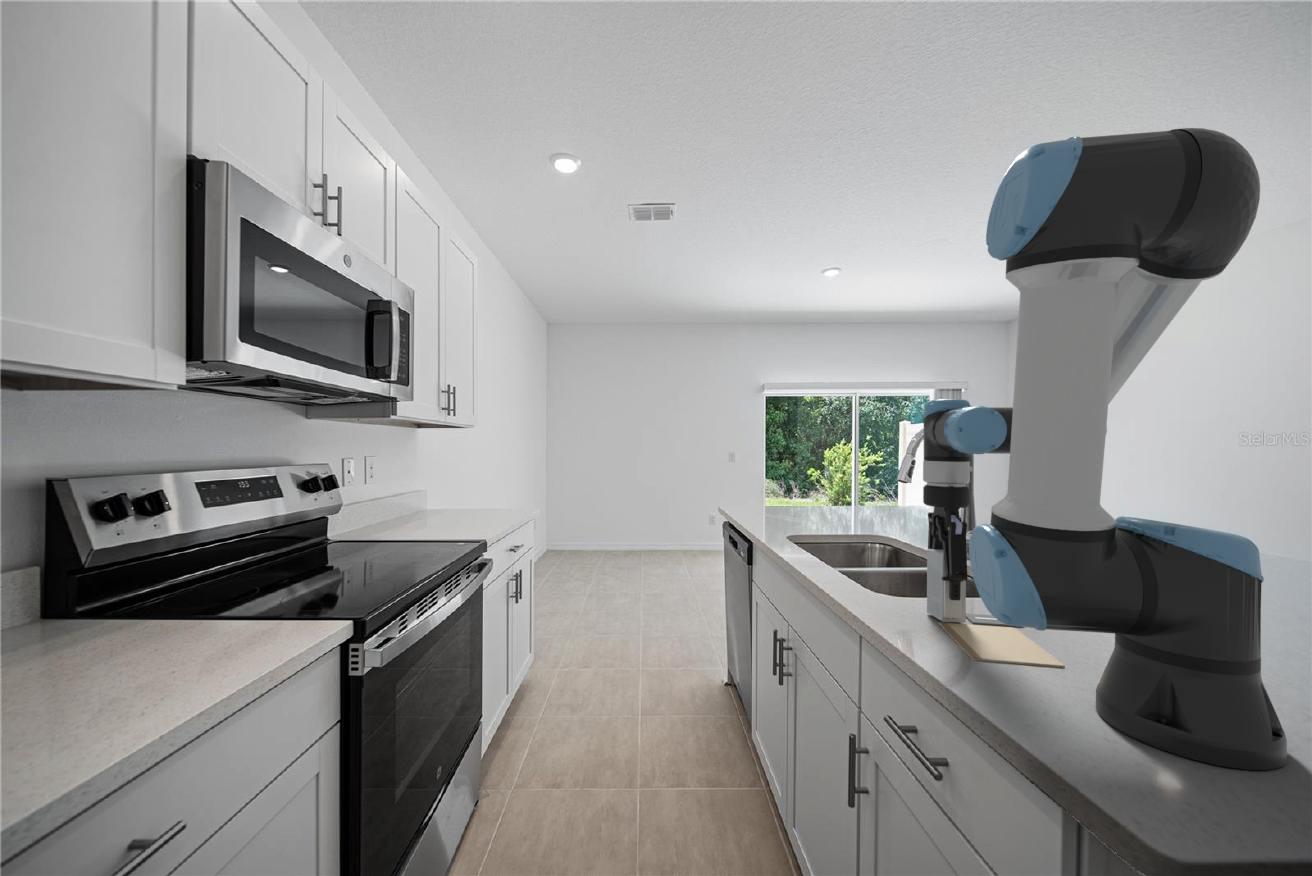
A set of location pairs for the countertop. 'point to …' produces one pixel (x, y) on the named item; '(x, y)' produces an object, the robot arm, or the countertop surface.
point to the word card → (985, 620)
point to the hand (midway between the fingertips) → (945, 610)
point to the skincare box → (940, 587)
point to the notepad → (999, 645)
